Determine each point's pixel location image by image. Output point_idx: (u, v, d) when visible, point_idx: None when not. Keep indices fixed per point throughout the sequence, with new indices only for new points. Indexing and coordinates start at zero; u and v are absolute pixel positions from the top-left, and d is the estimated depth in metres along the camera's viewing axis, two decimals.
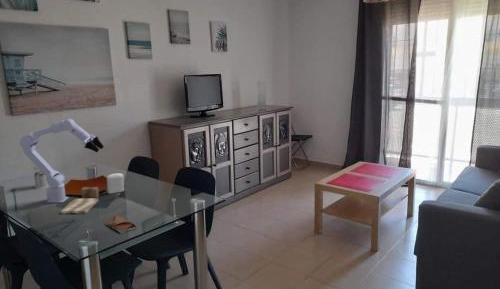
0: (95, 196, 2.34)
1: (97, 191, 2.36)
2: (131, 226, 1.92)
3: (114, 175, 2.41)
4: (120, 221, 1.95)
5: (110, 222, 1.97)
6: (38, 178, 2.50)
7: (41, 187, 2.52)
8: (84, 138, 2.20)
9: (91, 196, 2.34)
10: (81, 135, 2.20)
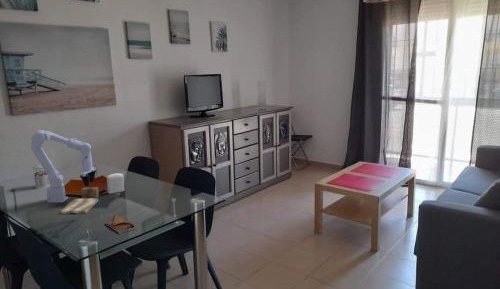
0: (95, 196, 2.34)
1: (97, 191, 2.36)
2: (130, 226, 1.91)
3: (114, 175, 2.41)
4: (120, 221, 1.95)
5: (109, 222, 1.97)
6: (38, 178, 2.50)
7: (41, 187, 2.52)
8: (86, 169, 2.29)
9: (91, 196, 2.34)
10: (86, 165, 2.29)
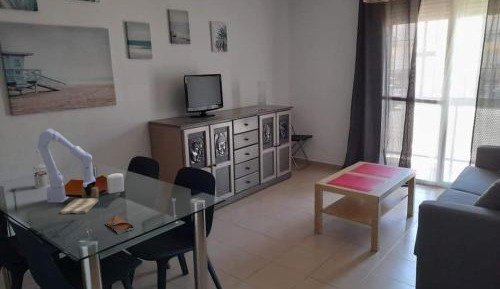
0: (95, 196, 2.34)
1: (97, 191, 2.36)
2: (129, 227, 1.91)
3: (114, 175, 2.41)
4: (119, 221, 1.94)
5: (109, 222, 1.97)
6: (38, 178, 2.50)
7: (41, 187, 2.52)
8: (87, 179, 2.31)
9: (91, 196, 2.34)
10: (87, 176, 2.31)
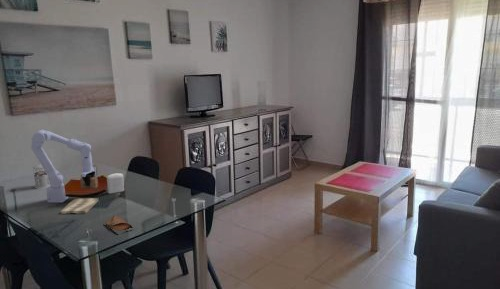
0: (94, 186, 2.33)
1: (96, 181, 2.34)
2: (128, 227, 1.91)
3: (114, 175, 2.41)
4: (118, 221, 1.94)
5: (108, 222, 1.97)
6: (38, 178, 2.50)
7: (41, 187, 2.52)
8: (86, 169, 2.30)
9: (90, 186, 2.33)
10: (86, 166, 2.29)
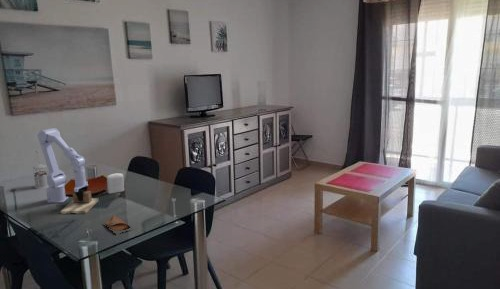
0: (87, 201, 2.23)
1: (89, 195, 2.24)
2: (126, 227, 1.90)
3: (114, 175, 2.41)
4: (117, 222, 1.94)
5: (107, 222, 1.97)
6: (38, 178, 2.50)
7: (41, 187, 2.52)
8: (79, 184, 2.19)
9: (83, 201, 2.23)
10: (79, 180, 2.19)
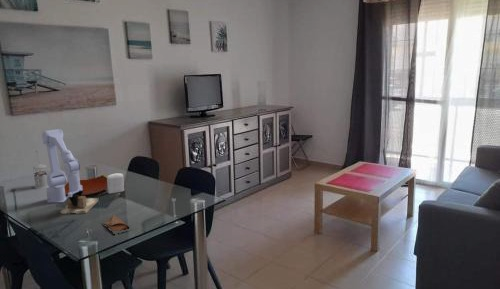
0: (82, 206, 2.15)
1: (84, 200, 2.17)
2: (125, 228, 1.90)
3: (114, 175, 2.41)
4: (116, 222, 1.94)
5: (107, 222, 1.97)
6: (38, 178, 2.50)
7: (41, 187, 2.52)
8: (73, 188, 2.12)
9: (78, 206, 2.15)
10: (73, 185, 2.11)
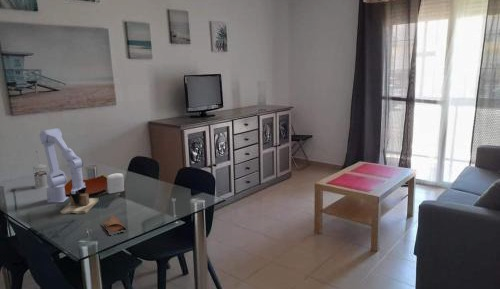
0: (85, 203, 2.19)
1: (87, 198, 2.21)
2: (121, 229, 1.89)
3: (114, 175, 2.41)
4: (113, 222, 1.93)
5: (105, 222, 1.97)
6: (38, 178, 2.50)
7: (41, 187, 2.52)
8: (76, 186, 2.16)
9: (81, 203, 2.19)
10: (76, 182, 2.15)
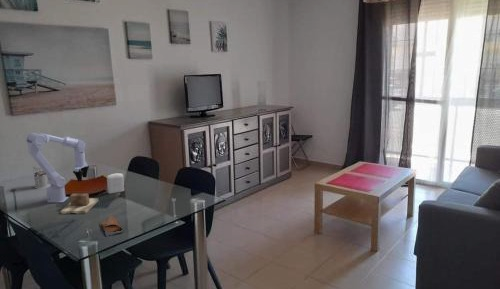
0: (85, 203, 2.19)
1: (87, 198, 2.21)
2: (118, 229, 1.88)
3: (114, 175, 2.41)
4: (111, 223, 1.93)
5: (103, 222, 1.97)
6: (38, 178, 2.50)
7: (41, 187, 2.52)
8: (79, 164, 2.36)
9: (81, 203, 2.19)
10: (79, 161, 2.36)
